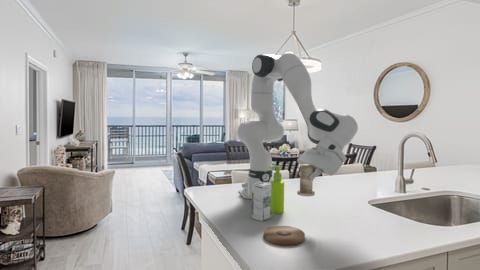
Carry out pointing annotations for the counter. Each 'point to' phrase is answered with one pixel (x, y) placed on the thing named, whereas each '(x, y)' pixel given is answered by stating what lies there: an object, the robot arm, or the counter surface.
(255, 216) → the syrup box
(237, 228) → the counter surface
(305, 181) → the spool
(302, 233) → the base
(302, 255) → the counter surface
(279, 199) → the soap dispenser
